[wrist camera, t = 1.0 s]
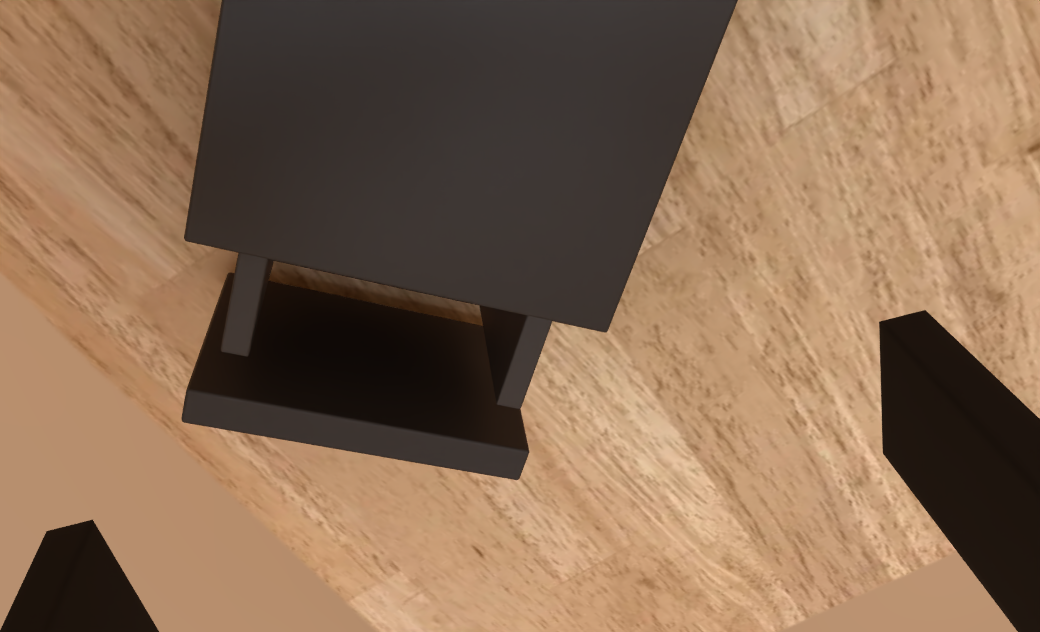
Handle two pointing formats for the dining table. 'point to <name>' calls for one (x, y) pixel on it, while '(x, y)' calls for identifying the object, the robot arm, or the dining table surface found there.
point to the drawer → (365, 375)
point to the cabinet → (451, 141)
